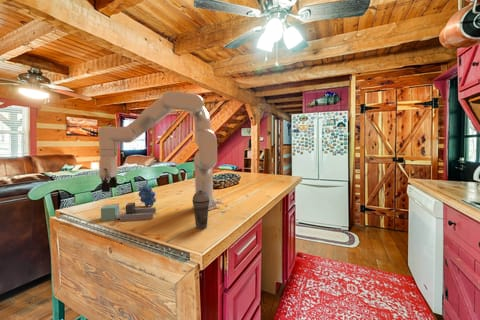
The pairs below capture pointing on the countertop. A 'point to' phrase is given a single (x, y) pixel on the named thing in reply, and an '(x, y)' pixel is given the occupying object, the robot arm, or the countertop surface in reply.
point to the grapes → (147, 195)
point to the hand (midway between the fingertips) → (109, 189)
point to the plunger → (127, 210)
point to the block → (109, 212)
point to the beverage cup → (201, 208)
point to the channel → (139, 214)
